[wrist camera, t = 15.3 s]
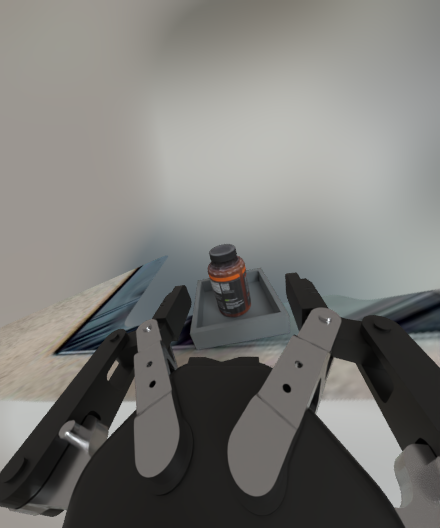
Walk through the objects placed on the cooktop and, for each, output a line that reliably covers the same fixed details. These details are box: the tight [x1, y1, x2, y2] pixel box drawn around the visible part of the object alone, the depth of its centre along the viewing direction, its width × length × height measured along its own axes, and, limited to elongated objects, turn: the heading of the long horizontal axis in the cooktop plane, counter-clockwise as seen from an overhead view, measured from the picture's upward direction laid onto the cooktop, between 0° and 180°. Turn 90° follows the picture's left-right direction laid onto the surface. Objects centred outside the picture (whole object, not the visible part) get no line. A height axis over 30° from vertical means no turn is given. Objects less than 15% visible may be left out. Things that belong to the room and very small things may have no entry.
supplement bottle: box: [208, 244, 251, 317], centre depth 26 cm, size 6×6×11 cm
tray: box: [190, 268, 290, 350], centre depth 28 cm, size 14×14×4 cm
